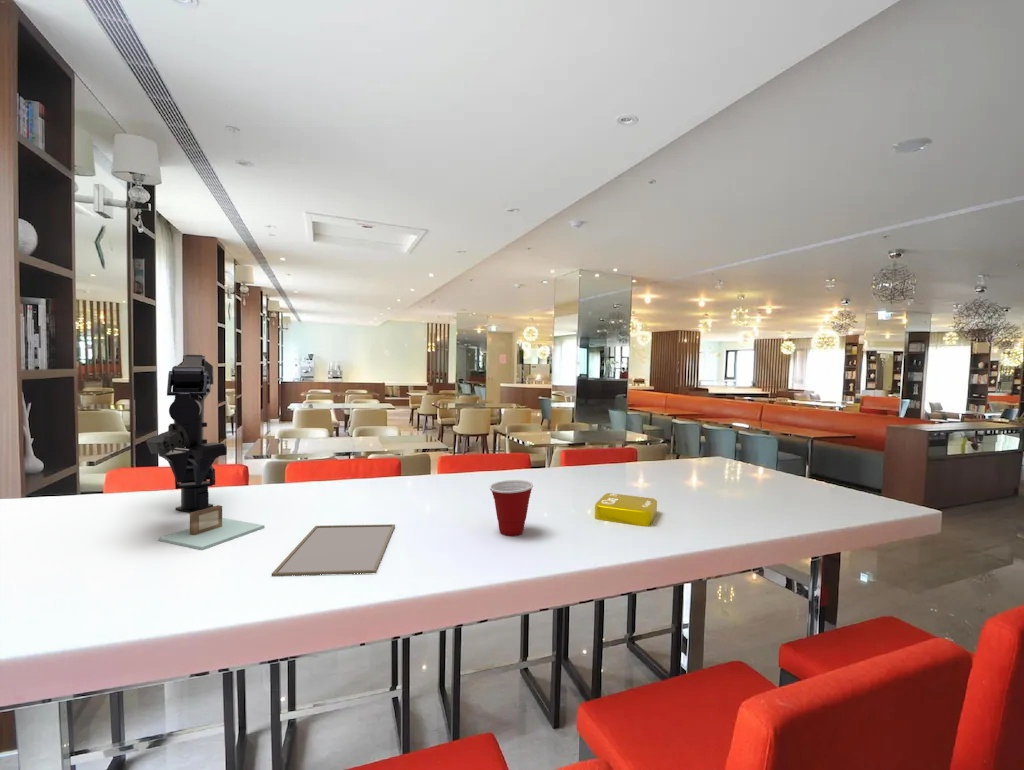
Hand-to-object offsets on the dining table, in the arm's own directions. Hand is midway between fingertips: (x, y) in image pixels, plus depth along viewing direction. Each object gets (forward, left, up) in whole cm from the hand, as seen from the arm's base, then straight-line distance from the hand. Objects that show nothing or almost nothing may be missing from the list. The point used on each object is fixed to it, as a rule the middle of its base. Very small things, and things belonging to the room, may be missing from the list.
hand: (188, 483), depth 117 cm
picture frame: (+42, +5, -12) cm, 43 cm away
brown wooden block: (+6, 0, -10) cm, 12 cm away
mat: (+8, 0, -11) cm, 14 cm away
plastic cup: (+71, +30, -11) cm, 78 cm away
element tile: (+96, +56, -12) cm, 112 cm away
